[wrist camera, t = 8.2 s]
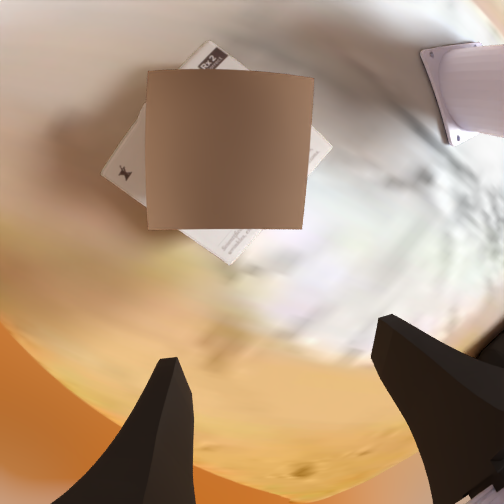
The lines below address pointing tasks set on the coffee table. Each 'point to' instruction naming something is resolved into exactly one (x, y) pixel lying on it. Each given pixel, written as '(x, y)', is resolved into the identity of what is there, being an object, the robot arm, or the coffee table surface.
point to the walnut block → (226, 149)
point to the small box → (133, 162)
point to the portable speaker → (494, 352)
